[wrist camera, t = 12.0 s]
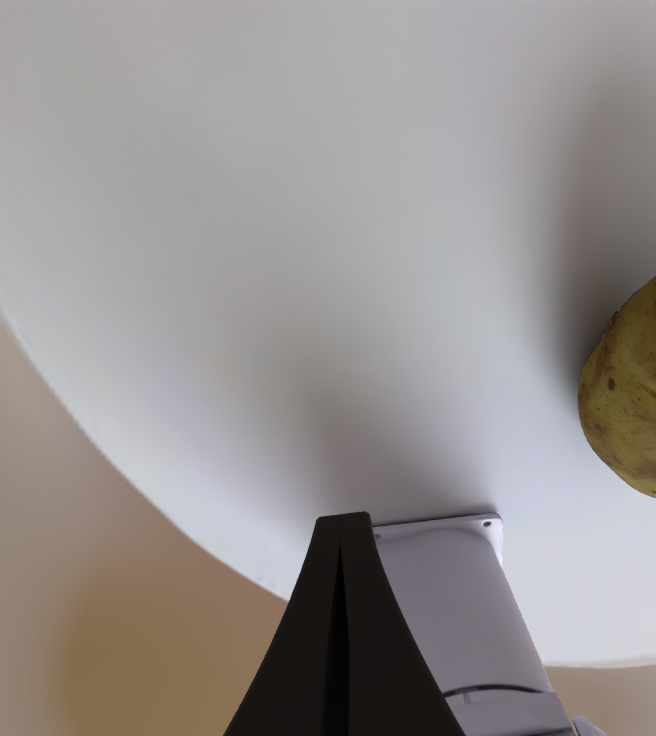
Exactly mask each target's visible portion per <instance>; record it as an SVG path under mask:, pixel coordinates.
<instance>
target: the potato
mask: <svg viewBox="0 0 656 736" xmlns="http://www.w3.org/2000/svg"><path fill="white" fill-rule="evenodd" d="M578 409H579V416H580V420H581V425H582V428H583V431H584V434H585V436H586V438H587V441H588V442H589V444H590V446H591V448H592V449H593V451H594V452H595V453H596V454H597V455H598V456H599V458H600V459H601V460H602V461H603V462H604V463H605V464H606V465H608V466H609V467H610V468H611V469H612V470H613V471H614V472H615V473H616V474H617V475H618V476H619V477H620V478H621V479H622V480H623V481H625V482H626V483H627V484H628V485H630V486H631V487H632V488H634V489H636V490H637V491H639V492H641V493H643V494H645V495H648V496H651V497H654V498H656V276H655V277H654V278H653V279H652V280H650V281H649V282H648V283H647V284H646V285H645V286H643V287H642V288H641V289H639V290H638V291H636V292H635V293H634V294H633V295H632V296H631V297H630V298H629V300H628V301H627V302H626V303H625V304H624V305H623V306H622V307H621V309H620V310H619V311H615V313H614V314H613V316H612V318H611V319H610V321H609V322H608V325H607V327H606V329H605V330H604V335H603V338H602V340H601V343H600V344H599V345H598V346H597V347H596V349H595V350H594V351H593V352H592V353H591V355H590V356H589V357H588V359H587V360H586V362H585V364H584V366H583V369H582V371H581V375H580V378H579V384H578Z"/></svg>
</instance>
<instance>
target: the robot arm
mask: <svg viewBox="0 0 656 736" xmlns="http://www.w3.org/2000/svg"><path fill="white" fill-rule="evenodd" d="M502 527H503V521H502V518H501V516H500V515H499V514H497V513H489V514H480V515H472V516H464V517H455V518H447V519H439V520H430V521H422V522H413V523H405V524H397V525H388V526H380V527H372V523H371V518H370V514H369V513H367V512H365V511H363V512H355V513H347V514H339V515H331V516H323V517H319V518H318V519H317V520H316V524H315V528H314V531H313V535H312V538H311V542H310V545H309V548H308V551H307V554H306V557H305V560H304V563H303V566H302V569H301V572H300V574H299V577H298V580H297V582H296V585H295V587H294V590H293V593H292V595H291V598H290V600H289V603H288V605H287V608H286V610H285V612H284V615H283V617H282V619H281V622H280V624H279V626H278V629H277V631H276V633H275V635H274V638H273V640H272V642H271V645H270V647H269V649H268V651H267V653H266V655H265V657H264V659H263V661H262V663H261V665H260V668H259V669H258V672H257V674H256V676H255V678H254V679H253V681H252V683H251V685H250V687H249V689H248V691H247V693H246V695H245V697H244V699H243V701H242V703H241V704H240V706H239V708H238V710H237V712H236V713H235V715H234V717H233V719H232V721H231V722H230V724H229V726H228V728H227V730H226V731H225V733H224V735H223V736H575V734H574V731H573V729H572V727H571V724H570V722H569V720H568V718H567V715H566V713H565V710H564V708H563V706H562V703H561V701H560V699H559V696H558V694H557V693H556V692H554V691H553V688H552V686H551V684H550V681H549V679H548V676H547V674H546V672H545V669H544V667H543V664H542V662H541V660H540V657H539V655H538V653H537V650H536V648H535V646H534V643H533V641H532V638H531V636H530V634H529V631H528V629H527V627H526V624H525V622H524V619H523V617H522V615H521V612H520V610H519V608H518V605H517V603H516V600H515V598H514V596H513V593H512V591H511V589H510V586H509V584H508V582H507V579H506V577H505V574H504V572H503V570H502ZM572 720H573V723H574V726H575V728H576V731H577V733H578V735H579V736H607V735H606V734H605V733H604V732H603V731H602V730H601V729H599V728H598V727H596V726H595V725H593V724H591V723H590V722H589V720H588V719H587V718H586V717H585V716H582V715H580V716H574V717H572Z"/></svg>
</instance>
